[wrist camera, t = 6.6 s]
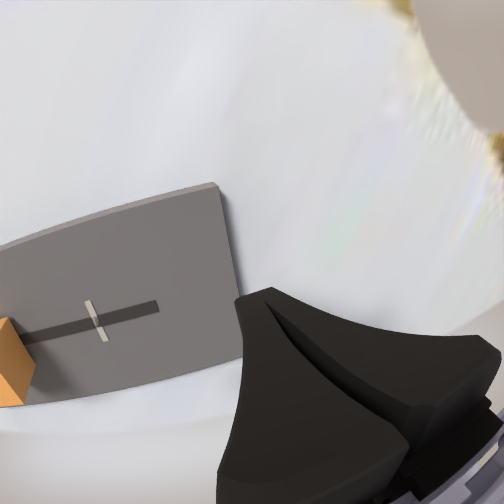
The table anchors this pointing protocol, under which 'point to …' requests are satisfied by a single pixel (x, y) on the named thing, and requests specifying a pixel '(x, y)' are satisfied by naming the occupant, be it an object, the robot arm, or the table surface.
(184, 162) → the table surface
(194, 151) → the table surface
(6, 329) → the fader knob
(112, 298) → the board
